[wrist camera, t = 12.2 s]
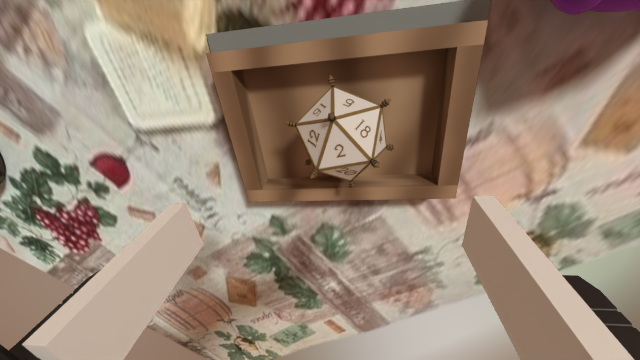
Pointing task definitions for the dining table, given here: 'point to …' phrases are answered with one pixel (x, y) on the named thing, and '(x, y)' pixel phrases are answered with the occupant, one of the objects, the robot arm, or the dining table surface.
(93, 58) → the dining table surface
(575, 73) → the dining table surface
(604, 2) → the toy camera
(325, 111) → the game die
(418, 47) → the brown wooden tray
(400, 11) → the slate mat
